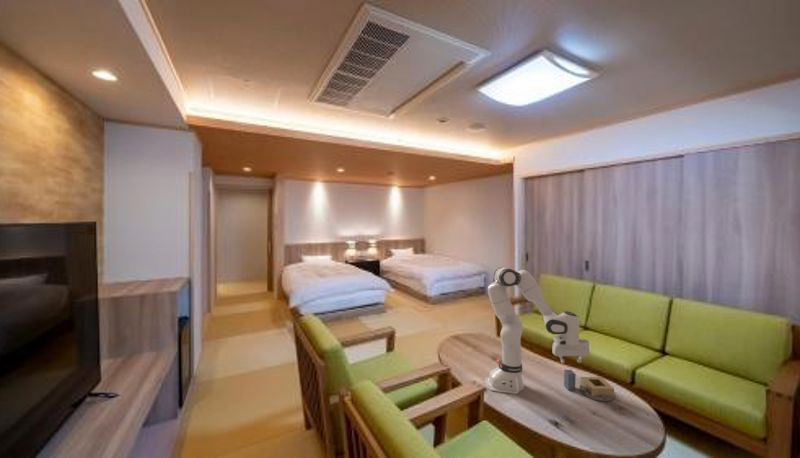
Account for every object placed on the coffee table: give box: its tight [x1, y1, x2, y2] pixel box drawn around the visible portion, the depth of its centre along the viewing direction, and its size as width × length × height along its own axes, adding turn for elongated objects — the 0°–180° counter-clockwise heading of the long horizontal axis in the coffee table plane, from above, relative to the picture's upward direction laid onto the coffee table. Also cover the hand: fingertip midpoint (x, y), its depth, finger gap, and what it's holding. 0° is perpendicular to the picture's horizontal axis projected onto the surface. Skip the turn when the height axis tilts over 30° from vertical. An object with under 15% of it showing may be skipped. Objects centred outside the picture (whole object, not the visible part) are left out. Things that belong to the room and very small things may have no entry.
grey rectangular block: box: [563, 369, 576, 392], centre depth 184 cm, size 4×5×10 cm
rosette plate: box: [579, 376, 616, 403], centre depth 179 cm, size 17×17×6 cm
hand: (570, 362), depth 183 cm, fingers open, 8 cm apart
